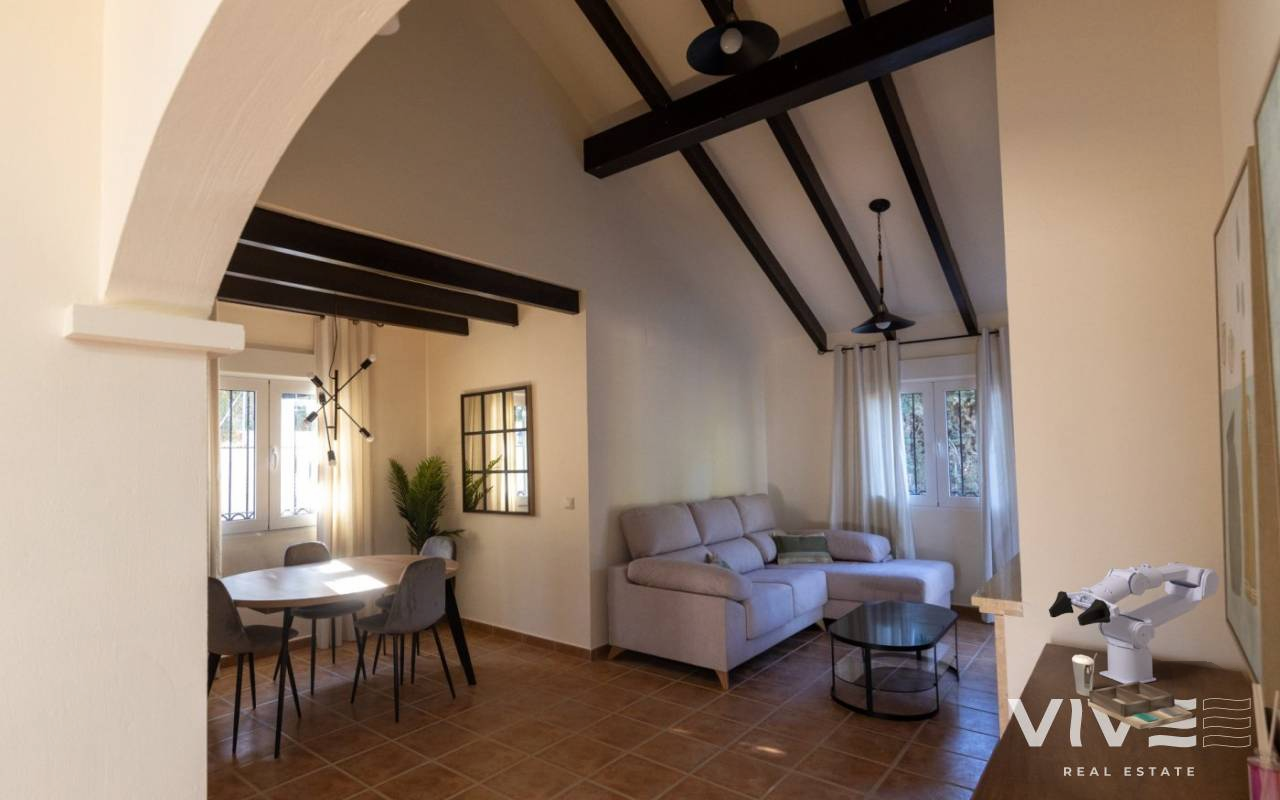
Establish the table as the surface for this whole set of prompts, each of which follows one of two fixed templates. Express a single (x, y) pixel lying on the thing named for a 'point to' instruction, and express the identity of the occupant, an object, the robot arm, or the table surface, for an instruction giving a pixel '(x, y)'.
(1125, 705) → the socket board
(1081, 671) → the milkshake
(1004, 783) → the table surface
